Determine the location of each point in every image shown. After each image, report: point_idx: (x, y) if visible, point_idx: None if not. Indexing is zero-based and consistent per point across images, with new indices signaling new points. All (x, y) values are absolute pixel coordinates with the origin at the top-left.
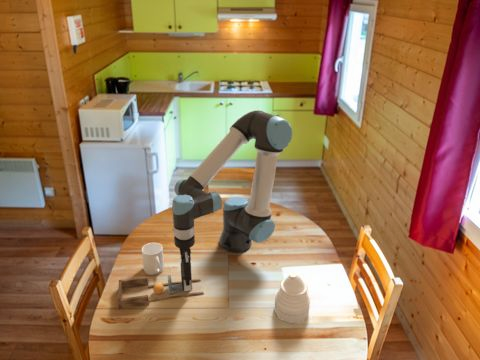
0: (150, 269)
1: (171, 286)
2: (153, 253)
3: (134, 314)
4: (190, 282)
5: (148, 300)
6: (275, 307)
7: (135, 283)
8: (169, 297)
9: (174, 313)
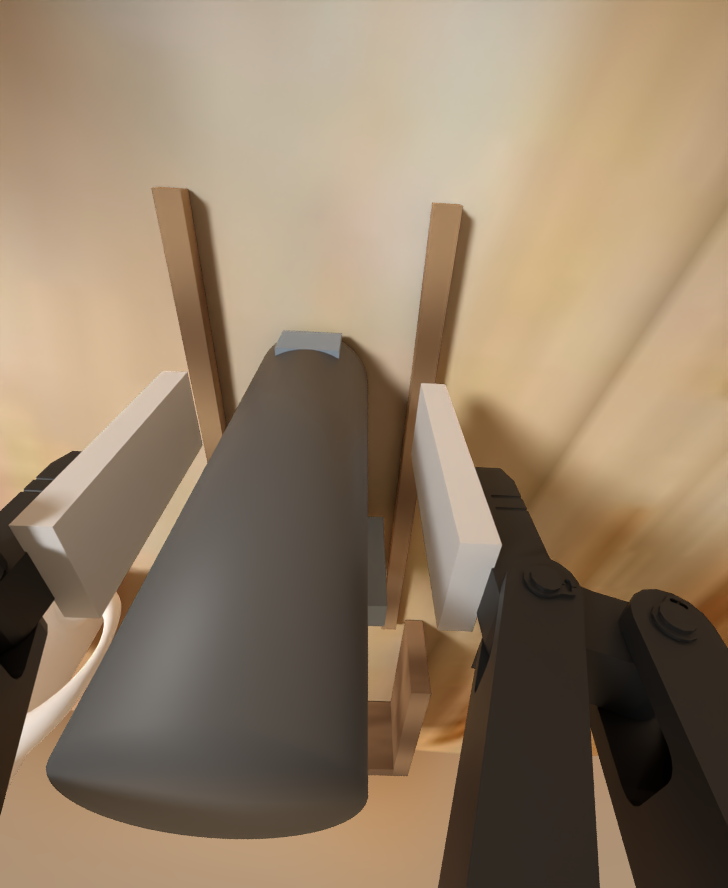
0: (84, 651)
1: (384, 592)
2: None
3: (470, 670)
4: (469, 467)
5: (426, 657)
6: None
7: None
8: (407, 532)
9: (585, 511)
